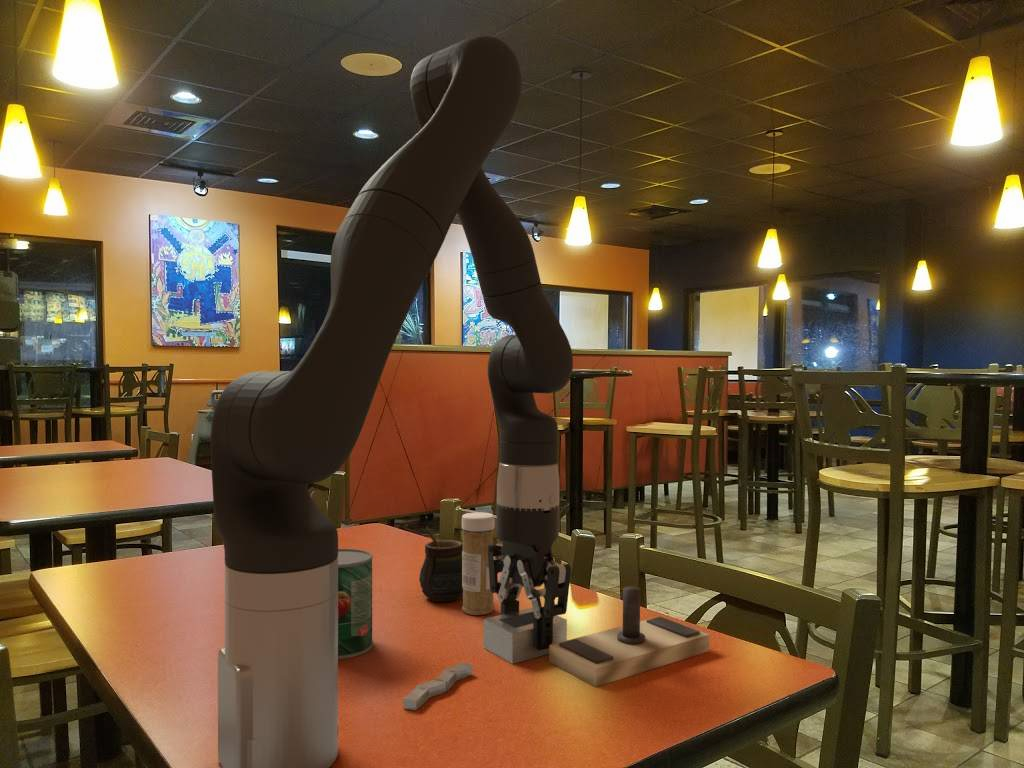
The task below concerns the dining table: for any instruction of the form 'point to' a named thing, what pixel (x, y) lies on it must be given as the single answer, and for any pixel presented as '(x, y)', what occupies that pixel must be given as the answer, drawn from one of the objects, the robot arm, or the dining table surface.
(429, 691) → the slack chain
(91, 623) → the dining table surface
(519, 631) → the link
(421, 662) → the dining table surface
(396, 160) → the robot arm
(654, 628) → the beige holder base
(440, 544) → the mate gourd
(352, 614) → the canned tomato
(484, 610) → the spice jar
